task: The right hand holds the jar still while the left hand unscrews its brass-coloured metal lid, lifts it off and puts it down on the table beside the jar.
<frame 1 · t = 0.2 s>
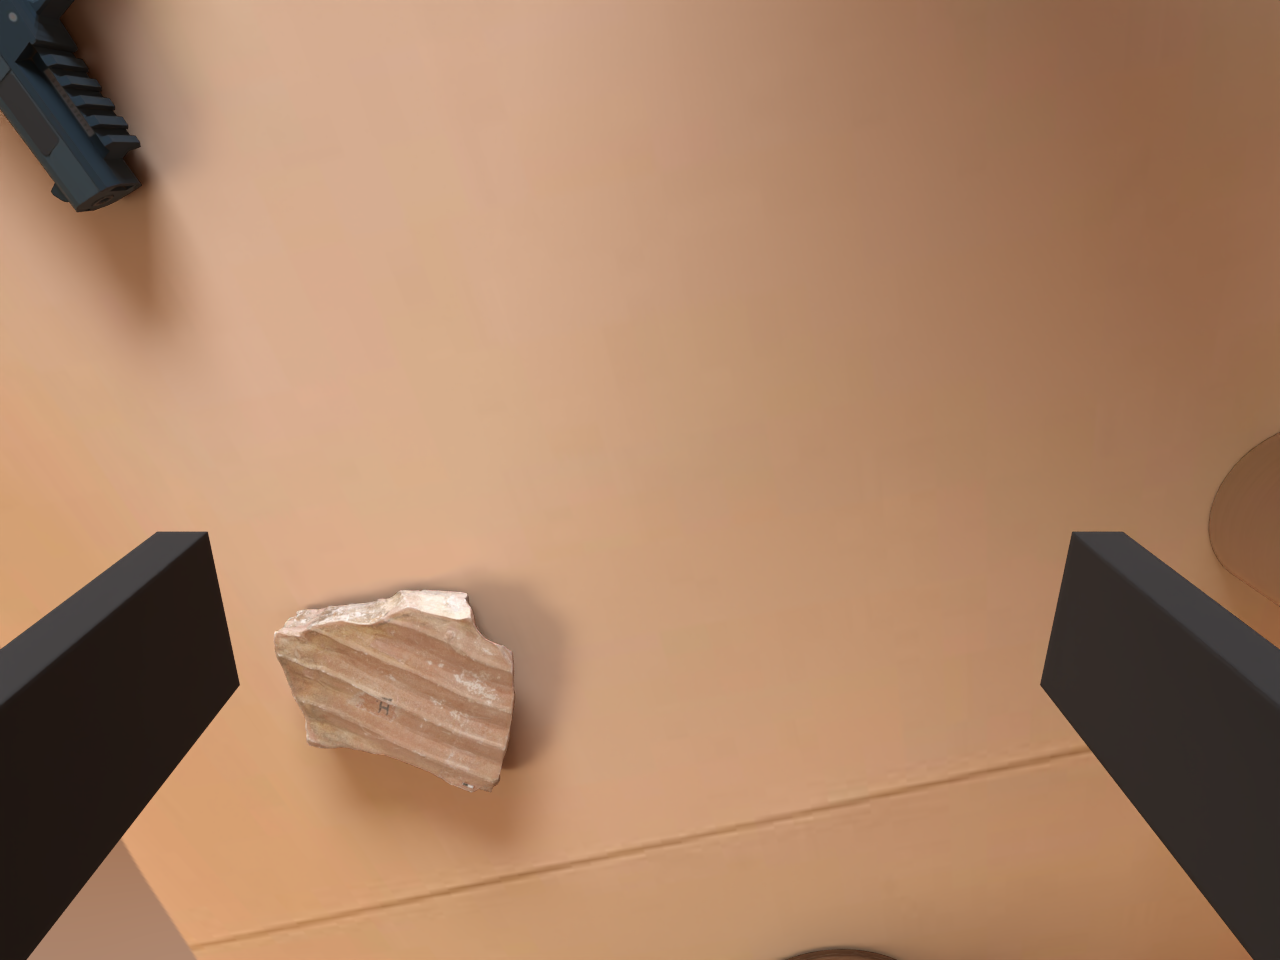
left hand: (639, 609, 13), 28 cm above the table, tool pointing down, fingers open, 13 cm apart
stone: (418, 686, 46), on the table
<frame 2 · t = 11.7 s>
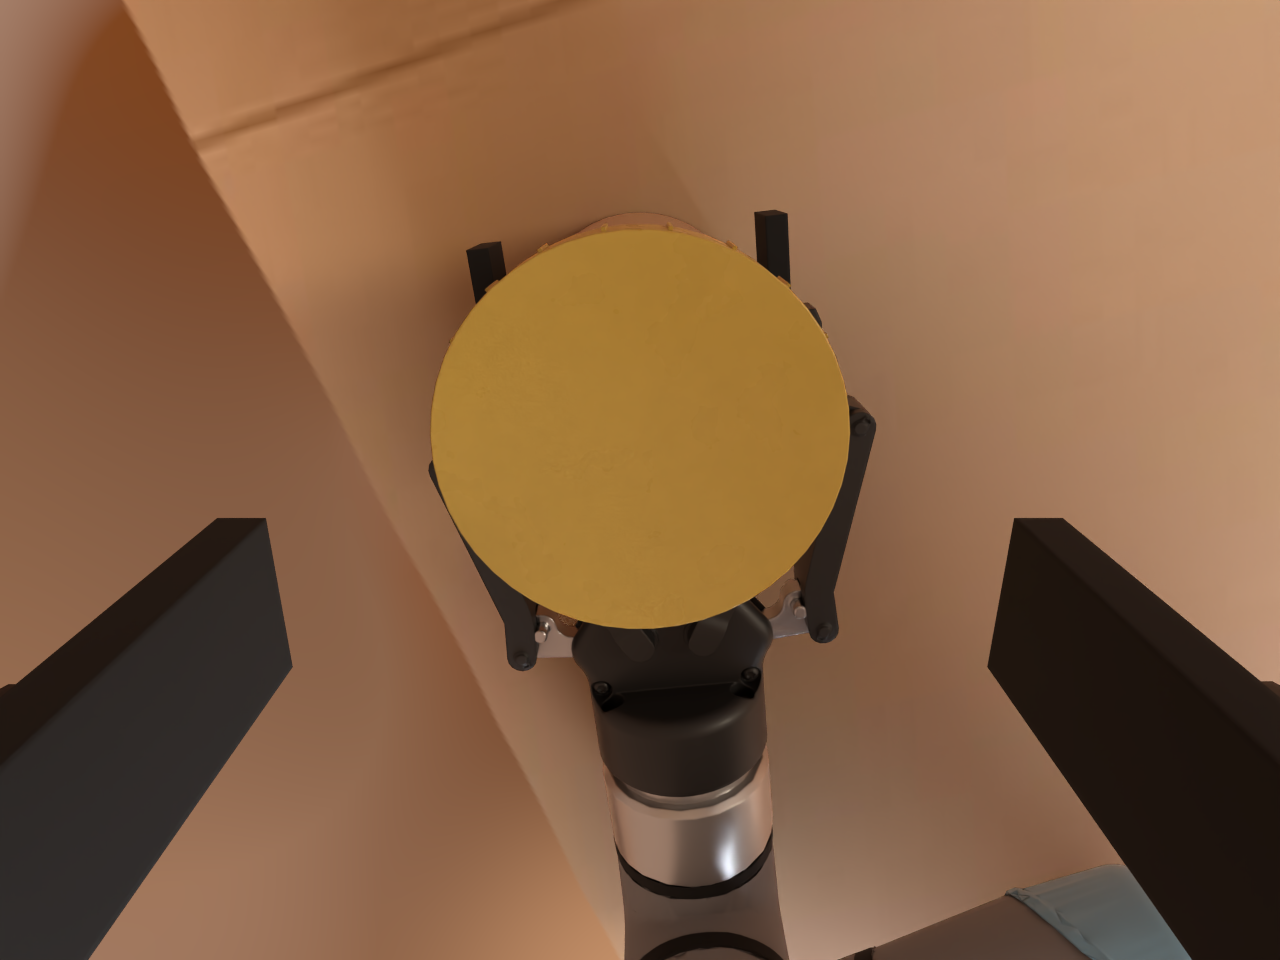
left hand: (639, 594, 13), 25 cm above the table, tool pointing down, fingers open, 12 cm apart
right hand: (626, 229, 29), fingers closed on jar, 9 cm apart
lid: (640, 443, 20), point 17 cm above the table, screwed on, not yet turned
jar: (640, 323, 36), on the table, touching right hand
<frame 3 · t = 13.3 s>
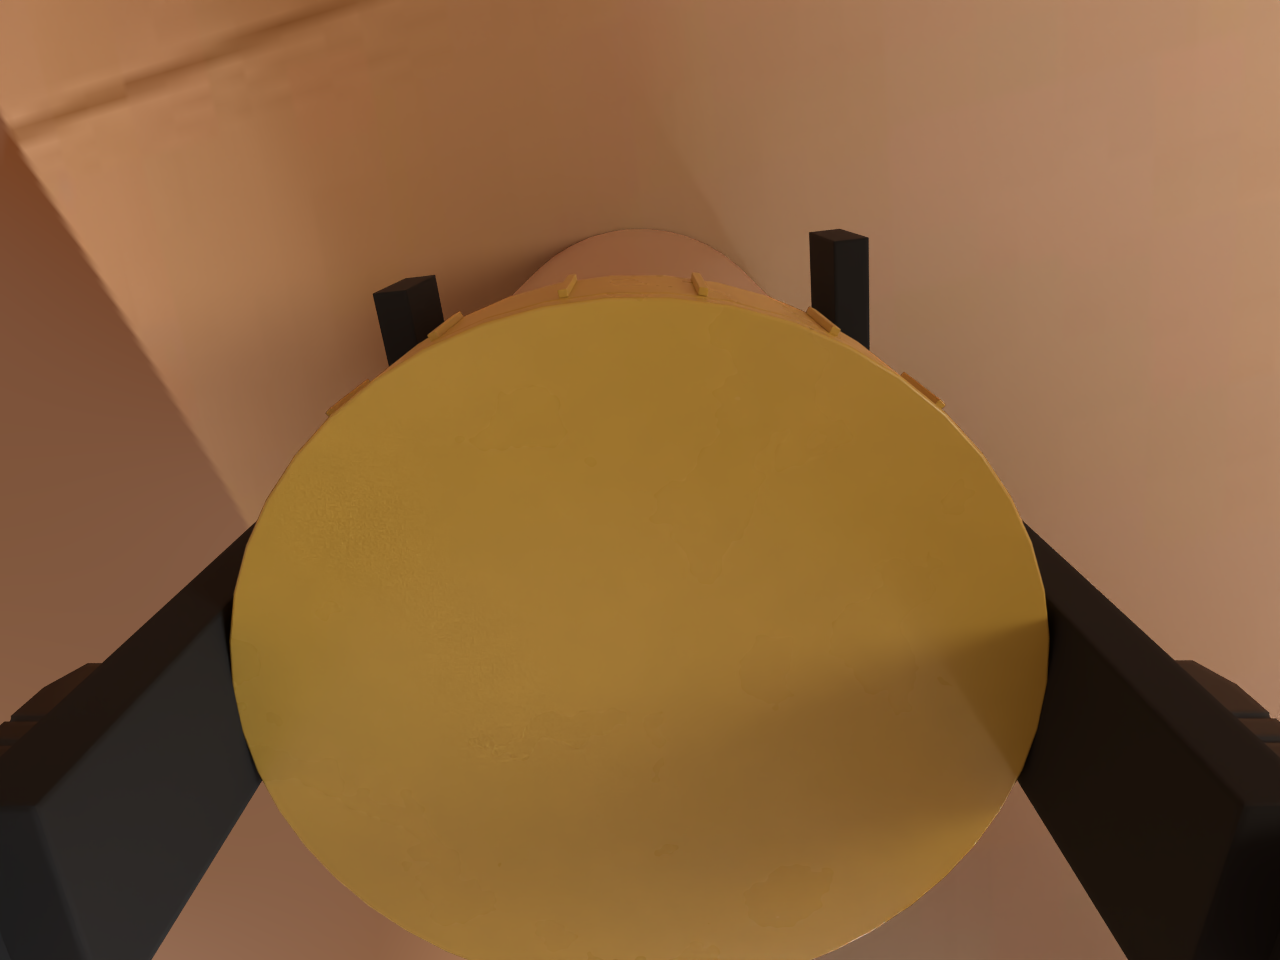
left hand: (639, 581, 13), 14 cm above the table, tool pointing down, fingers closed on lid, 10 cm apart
lid: (639, 691, 11), point 17 cm above the table, screwed on, not yet turned, touching left hand
jar: (639, 379, 26), on the table, touching right hand
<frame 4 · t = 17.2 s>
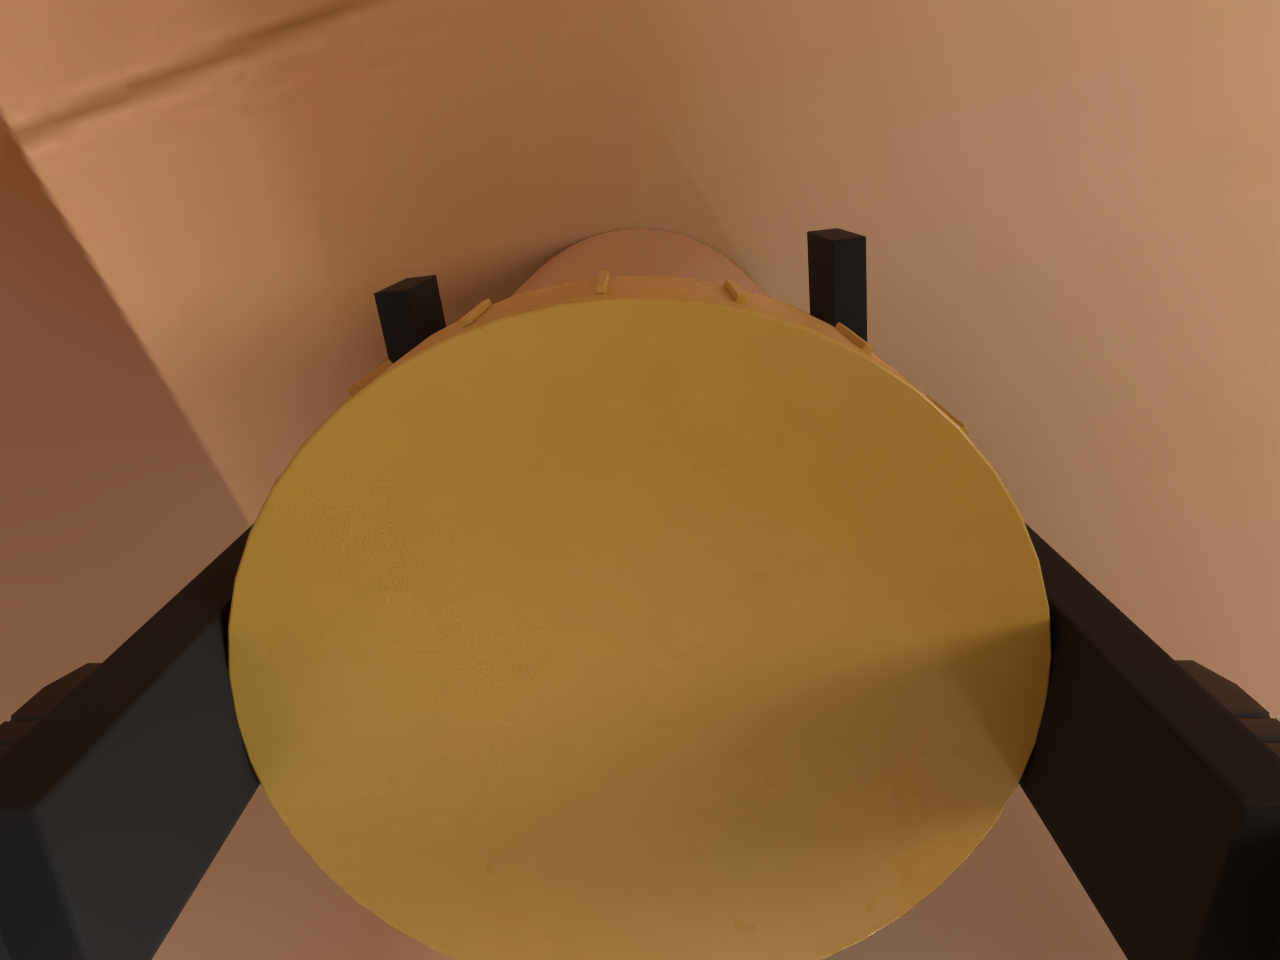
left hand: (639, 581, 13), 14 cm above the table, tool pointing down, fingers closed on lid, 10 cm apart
lid: (639, 693, 11), point 17 cm above the table, turned 132° so far, risen 0.2 cm, still on its thread, touching left hand
jar: (639, 378, 26), on the table, touching right hand
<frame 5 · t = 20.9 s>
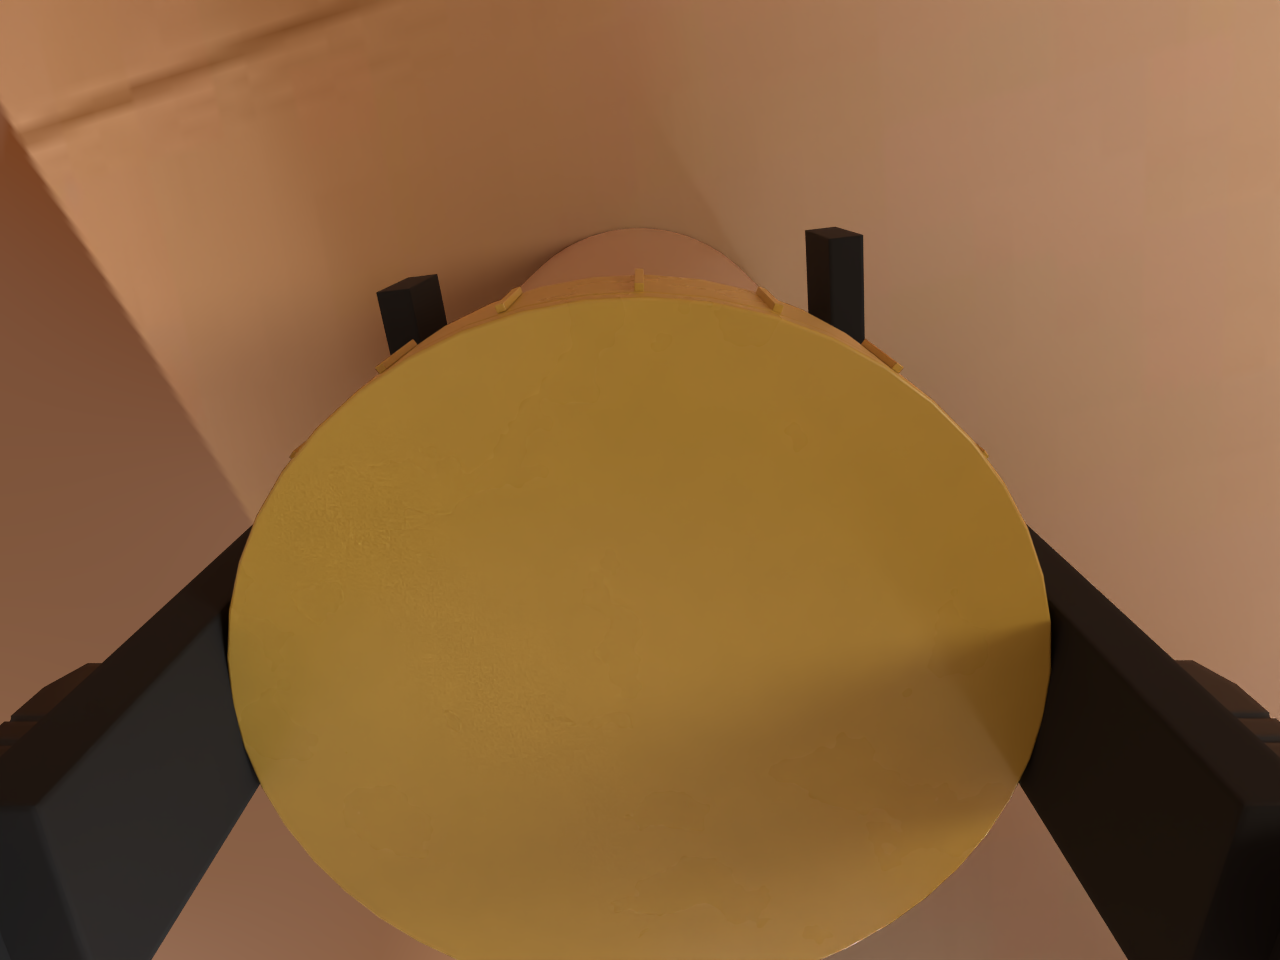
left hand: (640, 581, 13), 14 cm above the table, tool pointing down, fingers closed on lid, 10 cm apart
lid: (639, 693, 11), point 17 cm above the table, turned 265° so far, risen 0.4 cm, still on its thread, touching left hand
jar: (639, 377, 27), on the table, touching right hand
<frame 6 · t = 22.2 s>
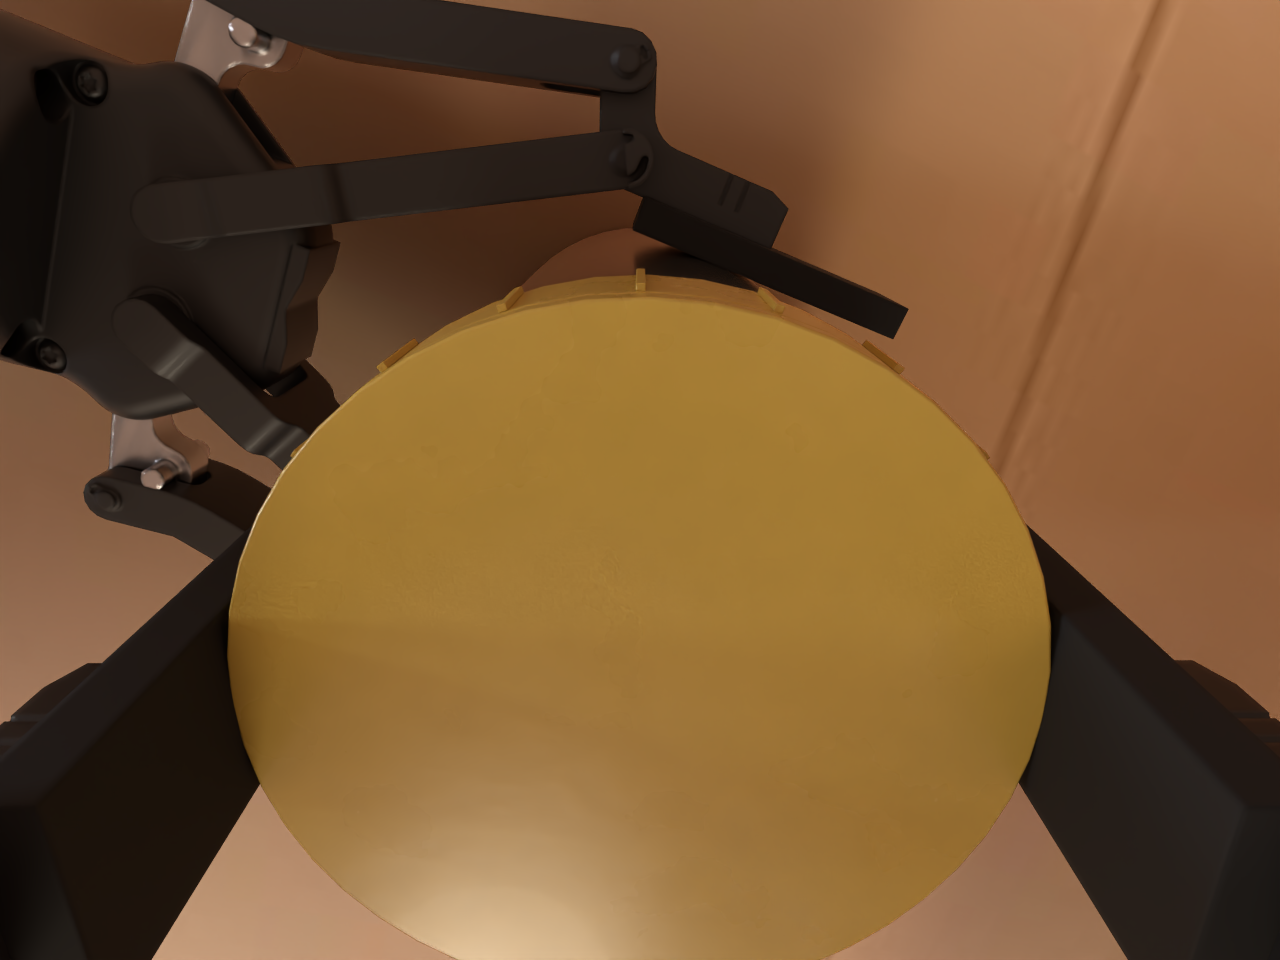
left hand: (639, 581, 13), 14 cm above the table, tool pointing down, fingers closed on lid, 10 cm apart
right hand: (794, 492, 22), fingers closed on jar, 9 cm apart
lid: (639, 693, 11), point 17 cm above the table, off its thread, touching left hand
jar: (639, 375, 27), on the table, touching right hand
when the left hand's fingers open (0 cm above the table, at t = 28.1 s): lid drops 2 cm, point 2 cm above the table.
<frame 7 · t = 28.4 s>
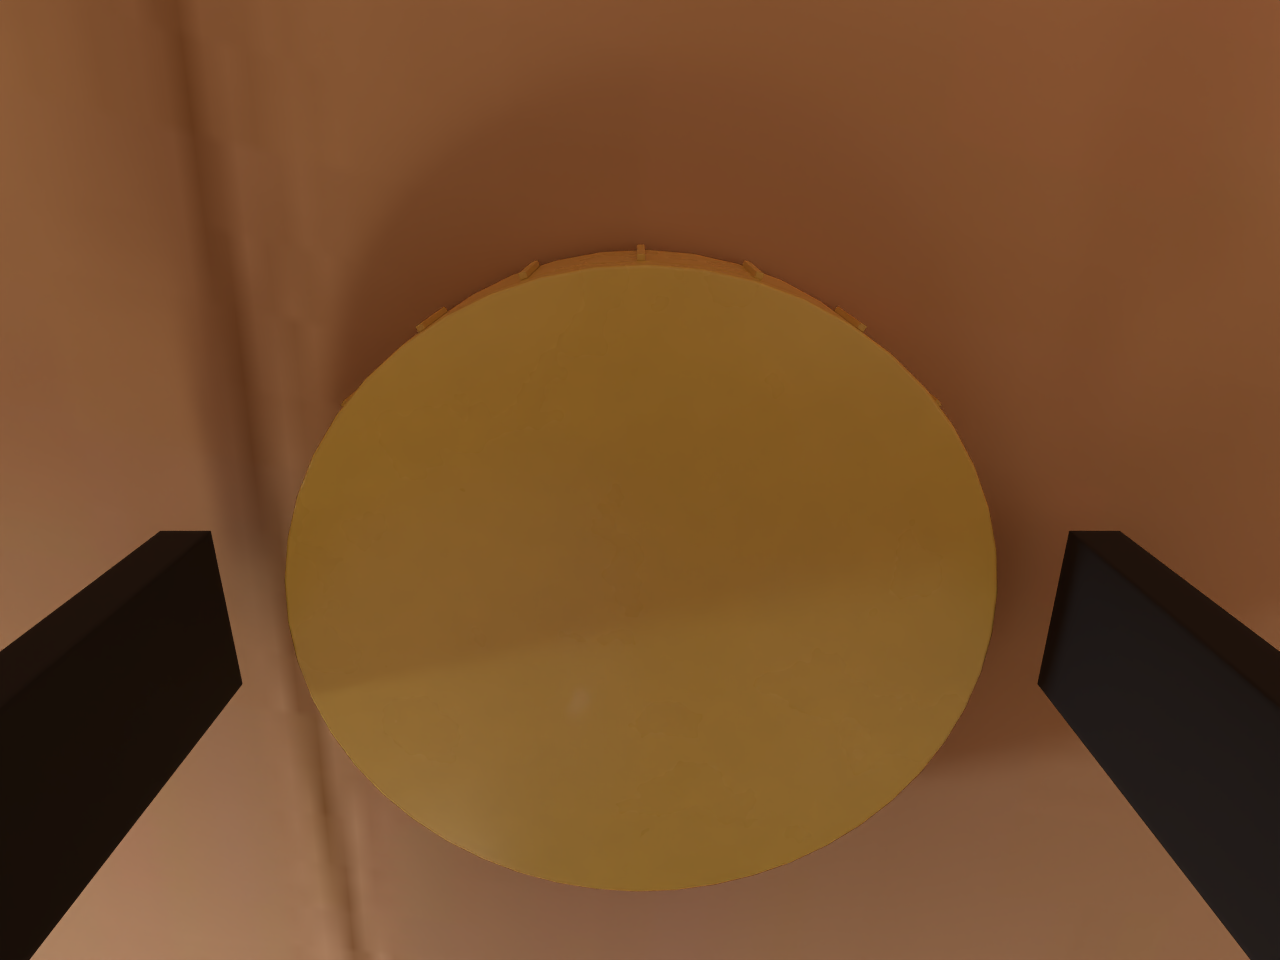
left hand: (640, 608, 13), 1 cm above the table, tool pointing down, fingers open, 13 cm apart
lid: (641, 615, 12), point 2 cm above the table, off its thread
when the right hand's fingers open (6 cm above the table, at t = 29.1 s): jar stays where it is, on the table.
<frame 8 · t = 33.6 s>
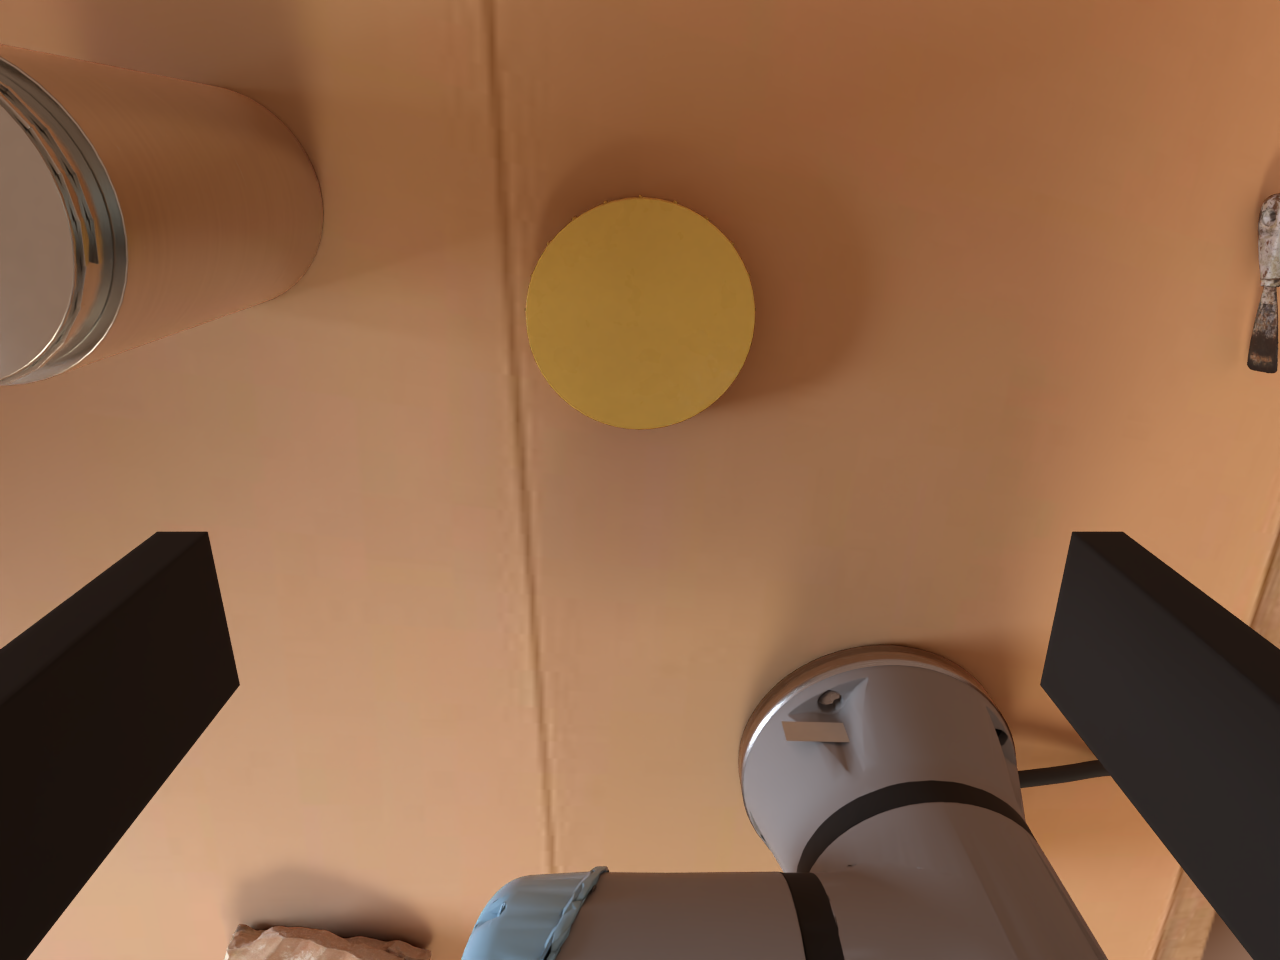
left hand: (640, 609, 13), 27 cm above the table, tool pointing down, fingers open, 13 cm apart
lid: (640, 318, 37), point 2 cm above the table, off its thread
putty knife: (1256, 282, 38), on the table
jar: (217, 200, 36), on the table
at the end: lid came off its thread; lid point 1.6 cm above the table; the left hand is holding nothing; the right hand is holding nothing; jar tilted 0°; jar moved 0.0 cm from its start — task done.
